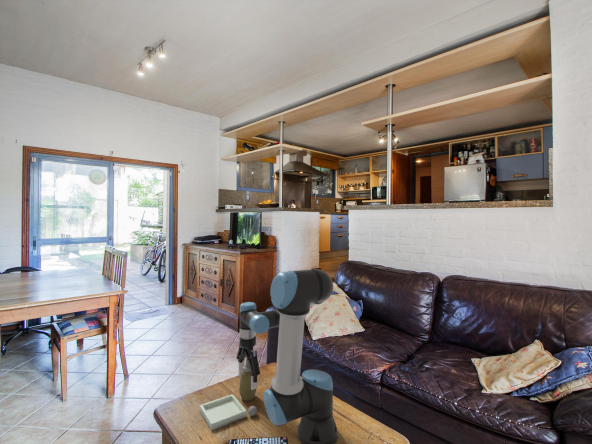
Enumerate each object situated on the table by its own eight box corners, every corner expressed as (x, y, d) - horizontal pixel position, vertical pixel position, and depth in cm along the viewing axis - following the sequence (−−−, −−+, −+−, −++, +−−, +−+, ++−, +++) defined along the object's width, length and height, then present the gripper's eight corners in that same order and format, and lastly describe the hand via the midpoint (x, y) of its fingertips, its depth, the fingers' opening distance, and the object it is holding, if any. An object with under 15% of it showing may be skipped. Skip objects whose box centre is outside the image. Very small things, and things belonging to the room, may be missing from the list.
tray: (246, 416, 125) (246, 410, 125) (211, 430, 117) (211, 424, 117) (232, 399, 138) (232, 394, 138) (199, 411, 129) (199, 405, 129)
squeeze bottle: (255, 402, 135) (255, 362, 135) (237, 402, 135) (237, 362, 136) (257, 392, 143) (257, 354, 144) (240, 392, 143) (241, 354, 144)
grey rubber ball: (258, 415, 126) (258, 407, 126) (250, 419, 124) (250, 410, 124) (254, 411, 129) (254, 403, 129) (246, 414, 127) (246, 405, 127)
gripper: (268, 343, 132) (267, 392, 132) (243, 327, 152) (243, 368, 152) (252, 347, 127) (252, 397, 127) (229, 330, 148) (229, 373, 148)
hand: (247, 382), depth 140 cm, fingers open, 13 cm apart
